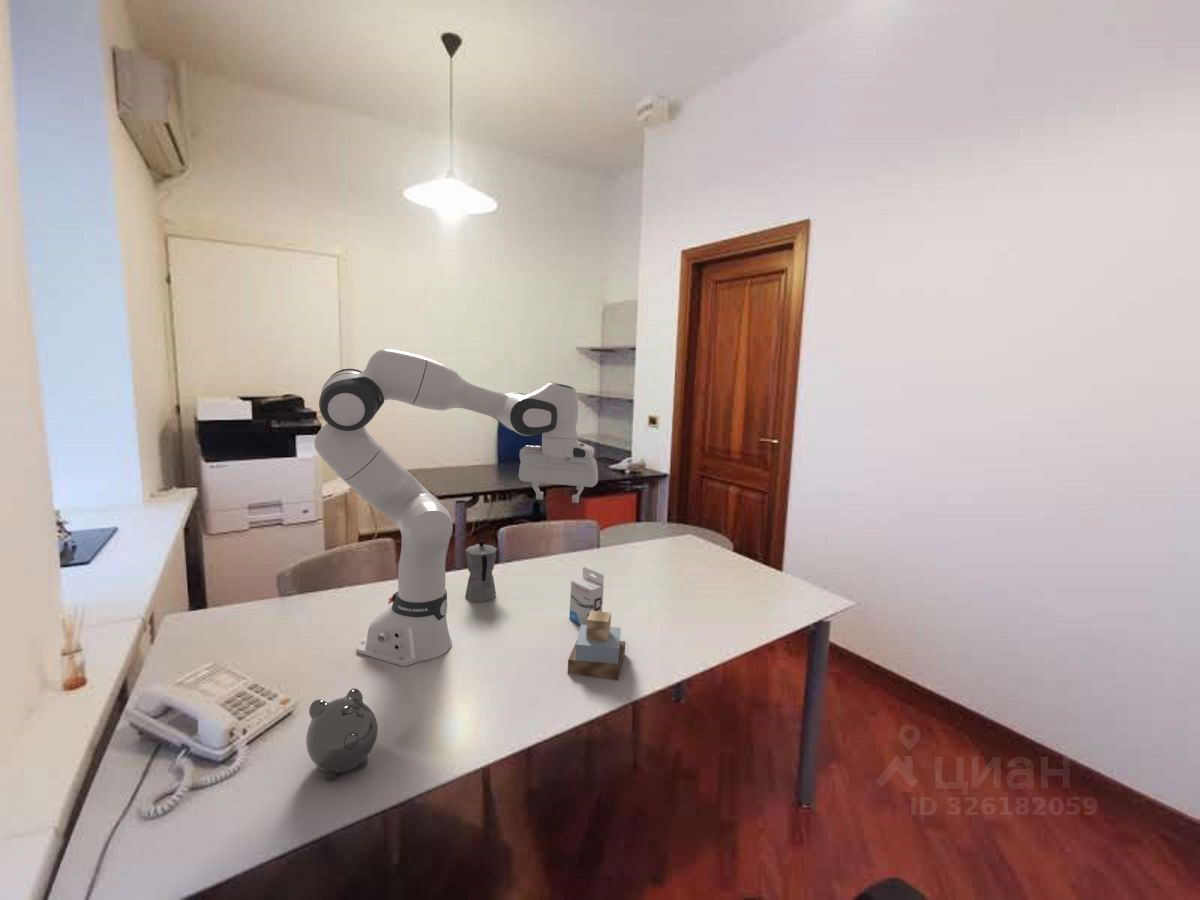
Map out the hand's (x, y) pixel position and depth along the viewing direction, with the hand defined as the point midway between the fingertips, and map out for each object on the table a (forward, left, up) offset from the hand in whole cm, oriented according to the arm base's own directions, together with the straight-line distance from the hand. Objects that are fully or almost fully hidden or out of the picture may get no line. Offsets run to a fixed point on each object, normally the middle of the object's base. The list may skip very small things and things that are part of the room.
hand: (557, 500), depth 139 cm
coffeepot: (-27, +17, -37) cm, 49 cm away
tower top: (+14, -11, -34) cm, 38 cm away
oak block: (+14, -11, -30) cm, 35 cm away
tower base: (+14, -10, -38) cm, 42 cm away
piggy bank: (-24, -54, -37) cm, 70 cm away
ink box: (+7, +10, -37) cm, 39 cm away
